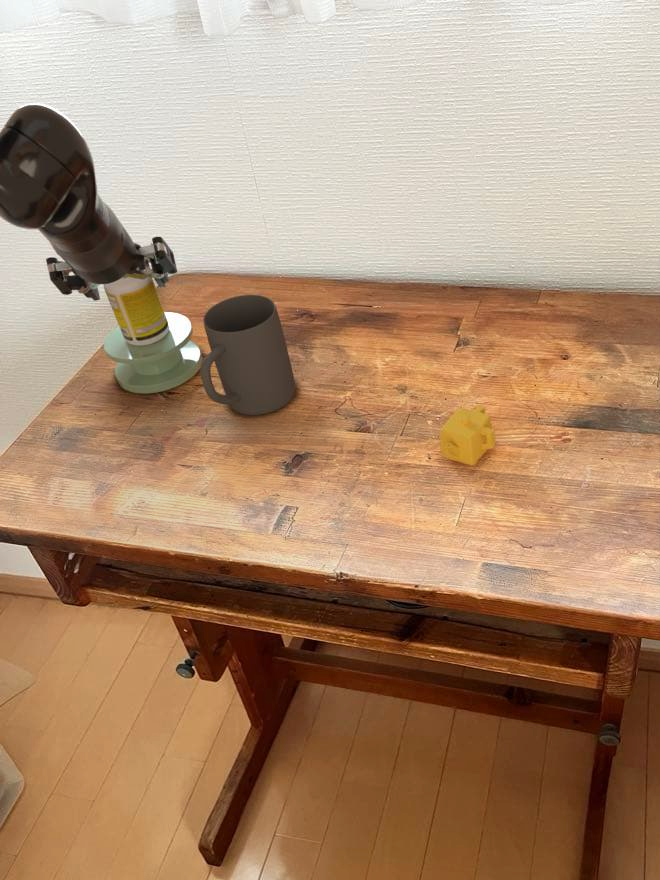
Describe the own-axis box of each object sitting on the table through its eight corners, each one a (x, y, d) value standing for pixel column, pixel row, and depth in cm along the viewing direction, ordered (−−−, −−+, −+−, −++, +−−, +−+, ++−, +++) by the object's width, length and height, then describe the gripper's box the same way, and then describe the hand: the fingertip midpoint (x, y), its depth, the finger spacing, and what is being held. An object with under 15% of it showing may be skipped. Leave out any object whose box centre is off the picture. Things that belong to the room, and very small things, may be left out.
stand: (164, 400, 110) (151, 366, 106) (99, 383, 115) (84, 350, 111) (219, 353, 117) (209, 319, 114) (155, 339, 122) (143, 306, 118)
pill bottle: (177, 323, 114) (151, 246, 106) (158, 348, 110) (129, 269, 102) (137, 322, 115) (108, 246, 107) (116, 346, 111) (85, 269, 103)
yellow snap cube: (476, 483, 91) (474, 446, 88) (432, 469, 94) (427, 433, 90) (510, 442, 96) (509, 405, 92) (466, 429, 99) (463, 393, 95)
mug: (253, 370, 113) (231, 289, 105) (310, 382, 109) (291, 299, 101) (192, 428, 105) (162, 346, 97) (251, 443, 101) (225, 359, 93)
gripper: (146, 192, 92) (177, 247, 108) (17, 217, 91) (67, 269, 107) (161, 258, 92) (189, 303, 108) (32, 283, 91) (80, 325, 107)
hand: (128, 286), depth 108 cm, fingers open, 8 cm apart
